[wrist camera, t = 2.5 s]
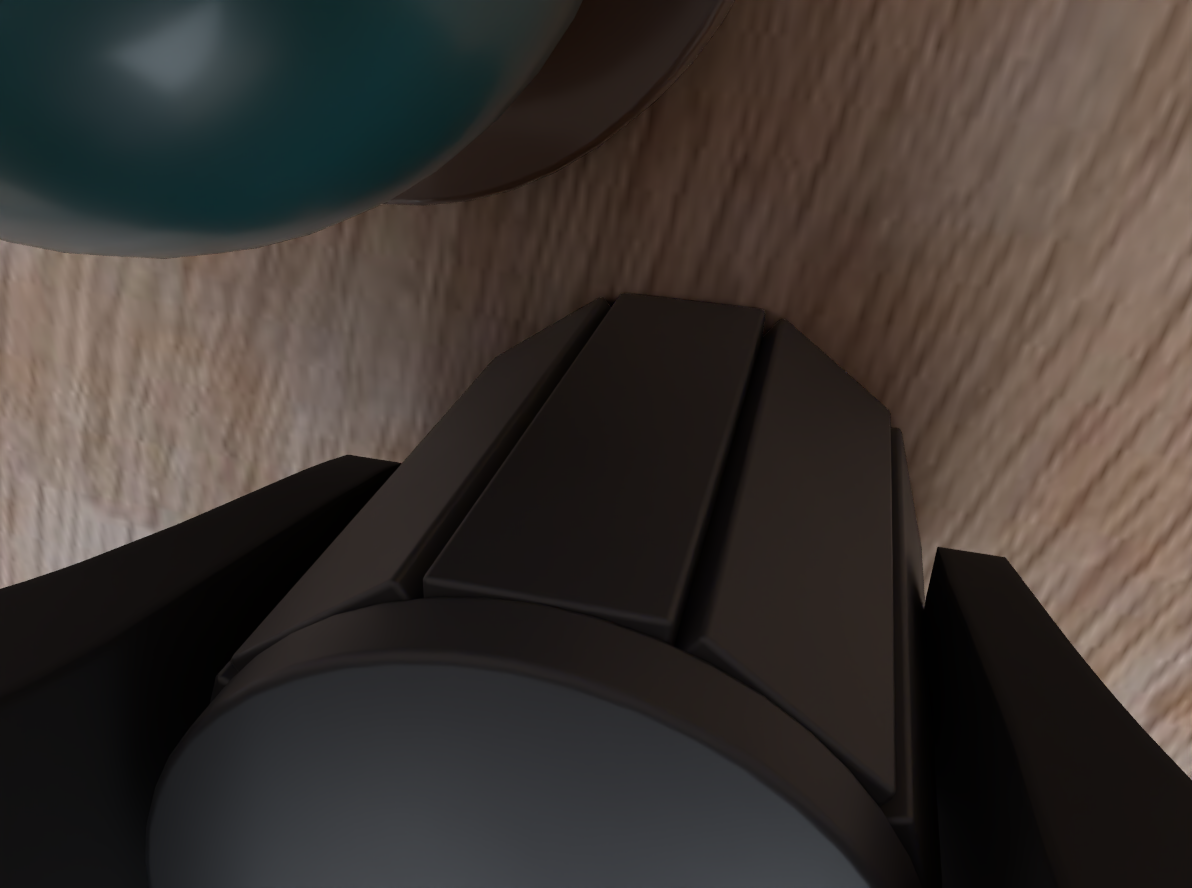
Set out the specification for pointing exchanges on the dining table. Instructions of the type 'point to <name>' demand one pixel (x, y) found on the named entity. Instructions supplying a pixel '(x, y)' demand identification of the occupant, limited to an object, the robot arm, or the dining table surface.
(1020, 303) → the dining table surface
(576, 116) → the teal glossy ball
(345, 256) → the dining table surface
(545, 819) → the black cap
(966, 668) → the robot arm
